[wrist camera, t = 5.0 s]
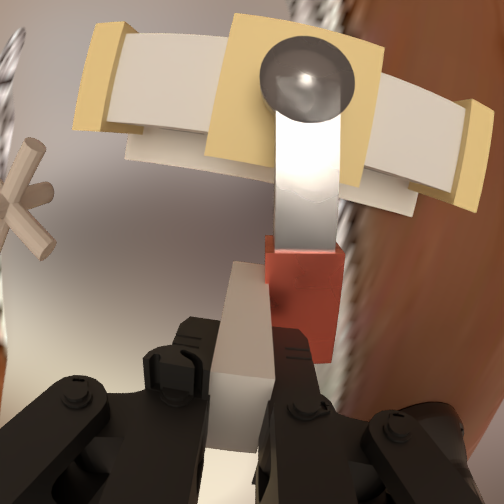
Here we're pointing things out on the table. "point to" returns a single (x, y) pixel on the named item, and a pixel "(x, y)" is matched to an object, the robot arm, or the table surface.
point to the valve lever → (306, 186)
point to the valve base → (262, 121)
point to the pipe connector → (26, 201)
